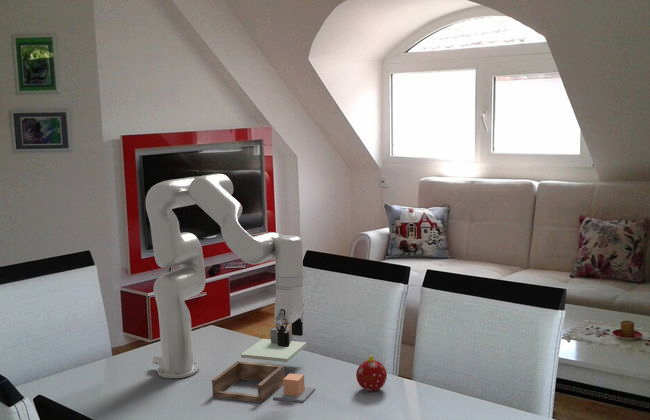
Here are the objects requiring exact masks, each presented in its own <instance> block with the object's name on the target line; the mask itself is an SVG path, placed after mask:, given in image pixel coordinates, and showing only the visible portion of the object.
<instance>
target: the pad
mask: <svg viewBox="0 0 650 420" xmlns="http://www.w3.org/2000/svg"><path fill="white" fill-rule="evenodd" d="M315 391H316V387H310V386H309V387H307V386H305V390H304V391H303V392H302V394H301V395H300V396H292V395H284V386H283V387H282V388H280V390H279V391H278V392H276V393H275V395H273V397H272V398H273V399H272V400H279V401H288V402H295V403H296V402H297V403H305V402H306V400H307V399H308V398H309V397H311V395H312V394H313V393H314V392H315Z"/></svg>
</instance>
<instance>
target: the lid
mask: <svg viewBox="0 0 650 420" xmlns="http://www.w3.org/2000/svg"><path fill="white" fill-rule="evenodd" d="M269 331H270V339H269V338H261V339H260V340H259V341H257V342H256V343H254V344H253V345H252V346H250V347H248V349H247V350H245V351H244V352H242V353H241V354H240V358H243V359H251V360H252V359H253V360H263V361H264V360H265V361H272V362H283V363H288V362H289V361H291V360H292V359H293V358H294V357H295V356H297V354H299V353H301V351H302V350H303V349H305V348H306V347H307V344H308V343H307V341H306V342H305V341H294V340H291V338H292V334H291V329H290V328H288V333H289V347H281V346H278V334H277V329H276V327H272V328H271V329H269Z"/></svg>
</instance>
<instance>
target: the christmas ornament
mask: <svg viewBox="0 0 650 420" xmlns="http://www.w3.org/2000/svg"><path fill="white" fill-rule="evenodd" d="M355 377H356V381H357V383H358V385H359V386H360V387H361V388H362V389H363V390H364V391H368V392H376V391H378V390H380V389H381V388H382V387H384V385H385V384H386V381H387V380H388V379H387V377H388V374H387V369H386V368H385V366H384V365H383V364H382V363H381V362H380V361H378V360H375V359H374V356H373V355H369V357H368V360H364V361H363V362H362V363H360V364H359V366H358V367H357V370H356V376H355Z"/></svg>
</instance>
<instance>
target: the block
mask: <svg viewBox="0 0 650 420" xmlns="http://www.w3.org/2000/svg"><path fill="white" fill-rule="evenodd" d="M282 386H283V387H284V395H292V396H300V395H301V394H302V392H303V391H304V390H305V387H306V386H305V374H298V373H297V374H296V373H288V374H287V375H286V376H285V378H284V379H283V384H282Z"/></svg>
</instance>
